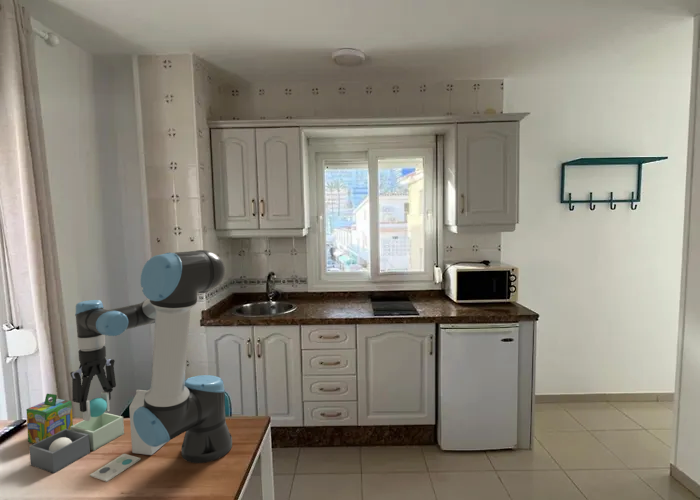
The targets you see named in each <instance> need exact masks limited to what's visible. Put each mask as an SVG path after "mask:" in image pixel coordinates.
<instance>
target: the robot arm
mask: <svg viewBox="0 0 700 500" xmlns="http://www.w3.org/2000/svg"><path fill="white" fill-rule="evenodd" d="M225 274H226V268H225V264H224V262H223V260H222V258H221V257H220V256H218V254H216V253H214V252H213V251H210V250H205V249H198V250H192V251H191V250H190V251H178V252H177V251H176V252H170V251H169V252H166V253H162V254H155V255H154V256H152V257H150V258H149V260H148V259H147V261H145V263H144V265H143V267H142V271H141V273H140V288H141V289H142V293H143V295H144V296H145V297H146V299H144V300H143V301H142V302H139V303H135V304H131V305H125V306H121V307H116V308H111V309H104V305H103V301H101V299H90V300H83V301H79V302H77V303H76V305H75V315H74V316H75V323H76V324H75V325H76V332H77V335H76V336H77V348H78V349H79V350H78V361H79V367H78V369H77V370H75V371H71V372H70V377H71V385H72V388H71V389H72V392H71V393H72V400H71V402H74V403H77V404H79V411H80V412H81V413H82V421H83V420H86V421H90V420H91V415H90V401H91V400H88V396H89V392H90V387H91V384H92V381H93V379H94V376H97V378H98V381H99V384H100V387H101V388H102V391H101V392H100V395H101V396H100V398H102V399H104V400H105V401H106V403H107V408H106V411H105V413H108V412H110V411H111V410H110V409H111V408H110V406H111V405H110V401H111V398H112V396H111V394H112V392H113V389H114V388H116V386H117V384H116V383H117V382H116V375H115V368H114V367H115V359H111V358H107V357H106V356H107V352H106V351H107V348H106V346H105V345H106V336H108V337H117V336H120V335H122V334H124V332H125V331H126V330H131V329H133V328H138V327H141V326H146V325H151V324H154V332H153V333H154V334H153V335H154V336H153V350H152V363H151V364H152V365H151V379H150V380H151V382H150V388H149V389H148V390H146V391H147V392H146V393H145V396H144V405H143V406H142V407H139V408H138V409H137V410H136V411H135V412H134V415H133V421H134V426H135V429H136V431H137V433H138V435H139V437H140V438H141V439H142V440H143V441H144V442H145V443H146V444H147V445H149V446H152V447H157V446H159V445H162V444H164V443H165V444H167V443H168V442H170V441H171V440H173V439H175V438H176V437H178V436H180V435H182V434H184V436H183V441H182V444H181V449H180V450H181V457H182V459H183V460H185V462H188V463H191V464H192V463H193V464H204V463H209V462H213V461H216V460H219V459H221V458H222V457H224V456H226V455H227V454H228V453H229V452H230V451H231V449H232V447H233V437H232V433H230V430H229V427H228V425H227V422H226V399H225V395H226V394H225V393H226V391H225V390H226V389H225V385H224V381H223V379H222V378H221V377H219V376H215V375H209V374H204V375H201V374H200V375H196V376H194V375H193V376H192V377H188V378H186V368H187V357H188V343H189V330H190V329H189V328H190V316H191V309H192V308H193V307H195V306H196V305H197V304H198V303H197V302H198V294H207V293H208V292H210V291H211V290H214V289H215V288H217V287H218V286H219V285H220V284H221V283H222V282H223V280H224V278H225ZM104 368H105V369H104ZM165 444H164V445H165Z"/></svg>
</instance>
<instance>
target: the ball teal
mask: <svg viewBox="0 0 700 500" xmlns="http://www.w3.org/2000/svg"><path fill="white" fill-rule="evenodd" d="M89 401H90V415H91V417H98V416H100V415H102V414H103V413H104V412H105V413H106V408H107V403H106V401H105V400H104V399H102V398H101V397H95V398H92V399H90V400H89Z"/></svg>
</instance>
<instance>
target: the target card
mask: <svg viewBox="0 0 700 500" xmlns="http://www.w3.org/2000/svg"><path fill="white" fill-rule="evenodd" d="M139 461H141V457H137V456H134V455H130V454H127V453H122V454H121V455H119V456H118V457H116V458H115V459H113V460H112V461H109V462H108V463H106V464H104V465H103V466H102V467H100V468H99V469H96V470H95V471H94V472H92V473H90V474H89V477H91V478H95V479H98V480H100V481H104V482H107V483H108V482H109V481H111V480H112V479H113V478H115V477H117V476H119V475H120V474H121V473H123V471H125V470H127V469H129V468H130V467H131V466H133V465H135V464H136V463H138V462H139Z"/></svg>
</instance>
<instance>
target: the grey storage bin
mask: <svg viewBox="0 0 700 500" xmlns="http://www.w3.org/2000/svg"><path fill="white" fill-rule="evenodd" d="M61 437H66V438H69V439H70V440H71V441H72V443H70V444H68V445H66V446H64V447H62V448H60V449H58V450H56V451H54V452H51V451H49V447H50V445H51V444H52V442H53V441H55V440H56V439H58V438H61ZM28 447H29V449H28V450H29V458H30V459H29V460H30V466H32V467H35V468H37V469H40V470H43V471H45V472H48V473H49V472H50V473H52V474H55V473H58V472H59V471H61V470H62V469H65V468H66V467H68V466H69V465H72V464H73V463H75V462H77V461H78V460H81V459H83V458H84V457H85V456H87V455H89V454H90V453H91V450H90V446H89V435H88V434H84V433H80V432H77V431H73V430H70V429H64V430H62V431H60V432H58V433H56V434H54V435H52V436H50V437H48V438H46V439H43V440H41V441H39V442H37V443H32V444H31V445H29V446H28Z"/></svg>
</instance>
